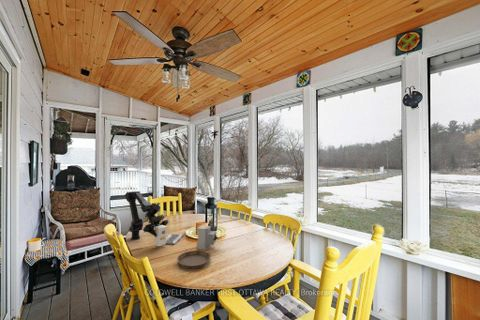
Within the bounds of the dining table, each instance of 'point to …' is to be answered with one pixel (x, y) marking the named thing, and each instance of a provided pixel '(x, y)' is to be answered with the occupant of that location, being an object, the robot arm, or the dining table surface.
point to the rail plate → (173, 238)
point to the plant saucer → (193, 259)
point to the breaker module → (160, 235)
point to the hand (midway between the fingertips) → (161, 235)
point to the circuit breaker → (205, 237)
